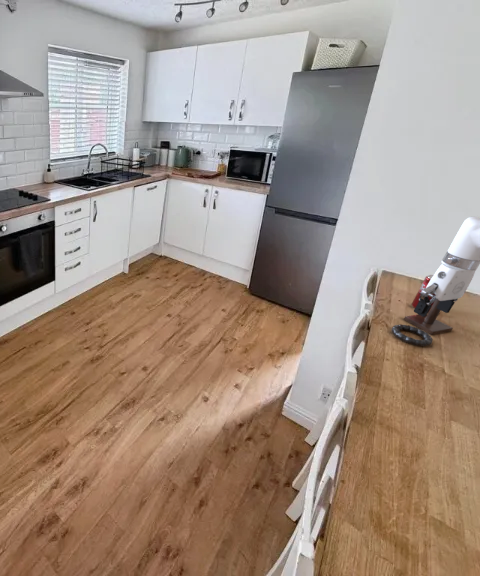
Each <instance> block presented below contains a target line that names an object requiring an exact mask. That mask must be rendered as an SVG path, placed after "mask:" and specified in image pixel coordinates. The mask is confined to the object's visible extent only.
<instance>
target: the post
mask: <svg viewBox="0 0 480 576" xmlns="http://www.w3.org/2000/svg"><path fill="white" fill-rule="evenodd" d="M439 302H440V301H439V300H438V299H436V300H435V302H434V303H433V305H432V307H431V309H430V311H429V312H428V314H427V315H426V316H425V317H423V316H421V315H419V314H417V313H416V314H412V315H406V316H404V318H403V320H404V321H405V322H407V323H409V324H410V325H413V326H414V327H416V328H418V329H421V330H422V331H424V332H426V333H428V334H429V335H430V336H433V335H437V334H442V333H443V334H444V333H447V332H452V331H453V330H454V327H452V326H450V325H448V324H446V323H444V322H442V321H440V320H438V319H437V318H438V316H439V314H440V312H442V311H441V310H439V309H437V308H436V307H437V305H438V304H439Z"/></svg>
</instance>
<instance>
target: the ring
mask: <svg viewBox="0 0 480 576" xmlns="http://www.w3.org/2000/svg"><path fill="white" fill-rule="evenodd" d="M401 331H405V332H410V333H412V334H416V335H417V336H419V337H421V338H422V339H418V338H417V339H416V338H413V337H411V336H408V335H406V334H404V333H402V332H401ZM391 333H392V334H393V335H394V336H395V338H397V339H398V340H401V341H402V342H404V343H407V344H410V345H413V346H417V347H427V346H432V344H433V341H434V339H433V337H432V335H431V334H429V333H428V332H426V331H424V330H422V329H420V328H418V327H416V326H412V325H407V324H394V325H393V326H392V328H391Z"/></svg>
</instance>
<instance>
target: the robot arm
mask: <svg viewBox="0 0 480 576" xmlns="http://www.w3.org/2000/svg"><path fill="white" fill-rule="evenodd" d="M440 262H441V264H440V265H439V267H438V268H437V270H436V271H435V272H434V274H432V275H433V277H432V278H431V280H430V282H429V283H428V285H427V287H426V288H425V289H423V290H422V291H421V295H420V297H419V298H420V299H419V302H418V304H417V306H416V308H415V309H414V308H413V313H415V314H416V315H417V314H419V315H421V316H423V317H425V316H426V315H427V313H428V312H429V310H430V308H431V306H432V305H431V304H432V303H433V302H434V301H435V300H436V299H438V300H439V301H440V302H439V304H438V305H437V307H436V308H437V309H439V310H441V311H440V312H443V313H445V314H449V313H450V311H451V310H452V308H453V306H454V305H455V303H456V302H457V301H458V300H459V299H461V298H462V297H463V296H465V295H464V294H465V293H466V292H467V290H468V288H469V286H470V284H471V282H472V280H473V278H474V275H475V274H476V271H477V269H478V268H479V266H480V216H469V217H467V218H466V219H464V221H463V222H462V224H461V226H460V228H459V229H458V231H457V233H456V235H455V236H454V238H453V240H452V242H451V244H450V246H449V248H448V249H447V250H446V252H445V254H444V256H443V258H442V259H441V261H440ZM433 294H435V295H436V296H435V295H433ZM428 296H429V297H431V298H432V299H431V300H429V297H428Z"/></svg>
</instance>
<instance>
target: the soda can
mask: <svg viewBox="0 0 480 576" xmlns="http://www.w3.org/2000/svg"><path fill="white" fill-rule="evenodd" d="M433 275H434V274H428V275H426V276H425V277H424V279H423V280H422V281H423V282H422V283H421V285H420V287H419V288H418V291H417V293H416V295H415V296H414V298H413V300H412V302H411V306H412V308H413V310H414V309H415V308H416V306H417V304H418V302H419V299H420V298H419V297H420V295H421V291H422V290H423V289H425V288H426V287H427V285H428V283H429V282H430V280H431V278H432V277H433ZM433 295H435V294H433ZM435 296H436V295H435ZM428 297H429V296H428ZM431 299H432V298H431V297H429V300H431ZM434 302H435V301H434ZM434 302H433V303H434ZM433 303H432V304H431V305H433ZM431 307H432V306H431ZM430 309H431V308H430ZM429 311H430V310H429ZM427 314H428V313H427Z"/></svg>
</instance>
